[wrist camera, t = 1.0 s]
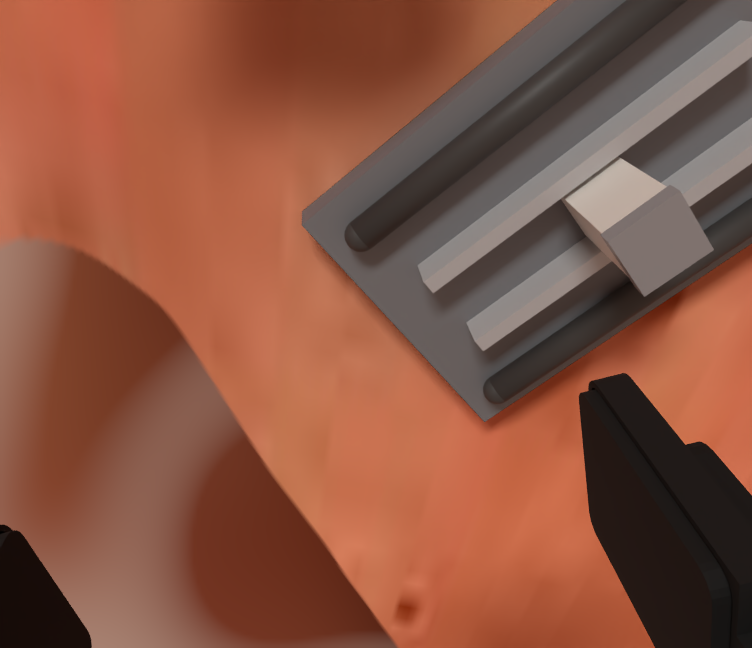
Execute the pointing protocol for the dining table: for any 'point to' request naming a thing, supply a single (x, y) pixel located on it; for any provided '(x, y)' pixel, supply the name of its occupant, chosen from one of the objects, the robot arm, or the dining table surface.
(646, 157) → the breaker panel
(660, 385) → the dining table surface
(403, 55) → the dining table surface
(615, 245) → the knob
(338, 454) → the dining table surface
